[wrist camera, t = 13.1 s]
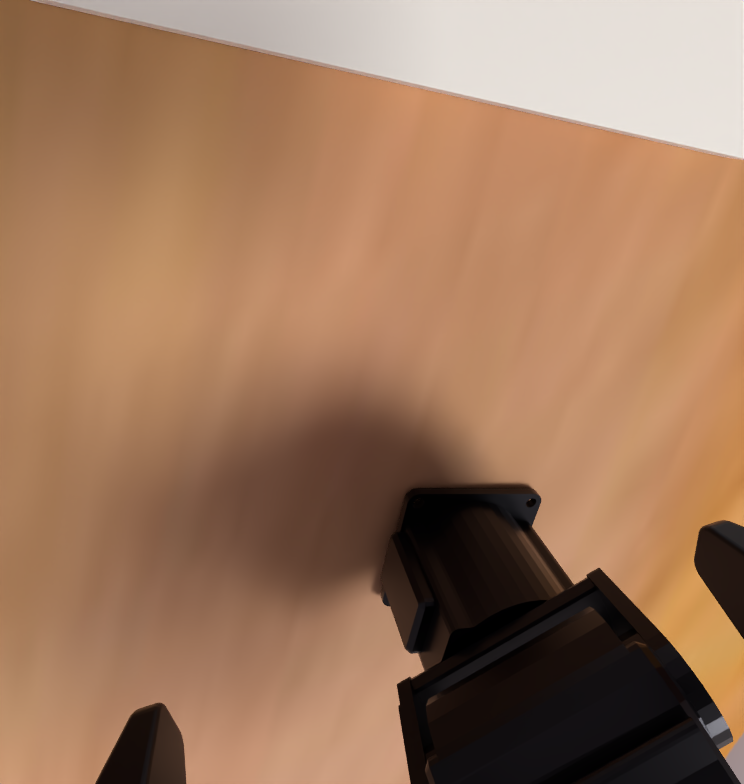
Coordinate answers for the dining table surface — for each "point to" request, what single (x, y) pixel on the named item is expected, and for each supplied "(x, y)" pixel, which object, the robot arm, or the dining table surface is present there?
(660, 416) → the dining table surface
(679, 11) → the board
